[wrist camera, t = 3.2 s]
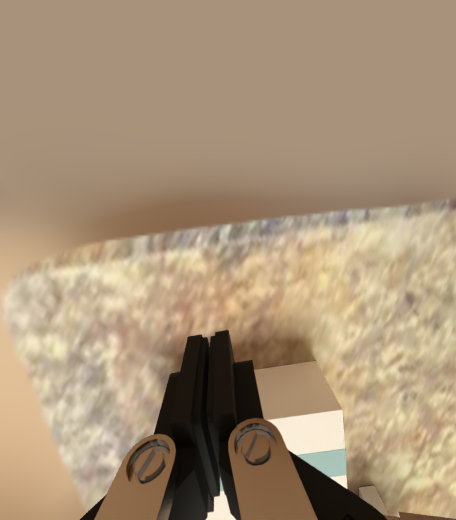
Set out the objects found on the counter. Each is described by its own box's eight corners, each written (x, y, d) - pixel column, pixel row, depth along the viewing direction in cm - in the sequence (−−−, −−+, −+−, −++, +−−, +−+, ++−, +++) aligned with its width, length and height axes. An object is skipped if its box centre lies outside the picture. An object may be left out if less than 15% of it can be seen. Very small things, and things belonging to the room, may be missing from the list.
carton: (315, 359, 21) (342, 410, 16) (323, 442, 23) (348, 508, 18) (175, 380, 21) (160, 435, 16) (196, 459, 24) (188, 527, 19)
